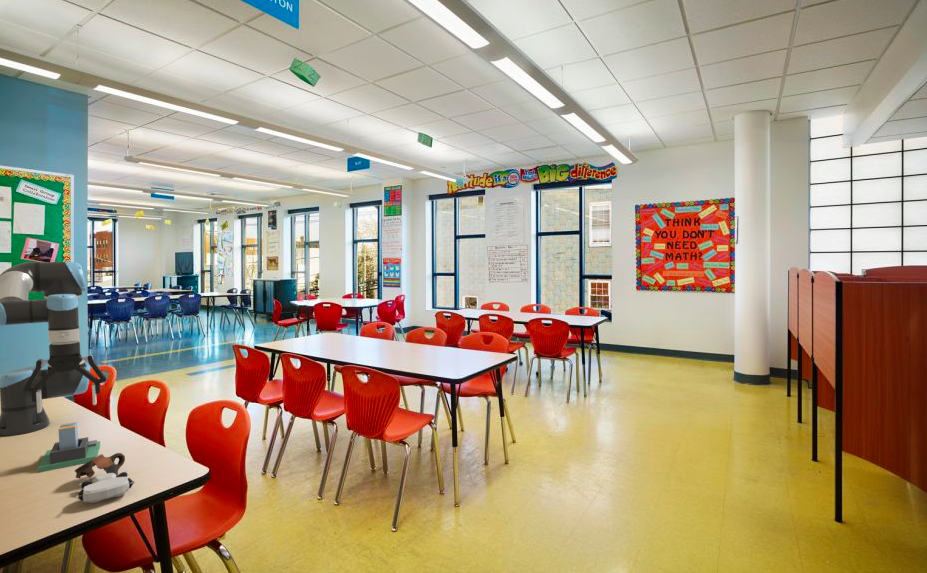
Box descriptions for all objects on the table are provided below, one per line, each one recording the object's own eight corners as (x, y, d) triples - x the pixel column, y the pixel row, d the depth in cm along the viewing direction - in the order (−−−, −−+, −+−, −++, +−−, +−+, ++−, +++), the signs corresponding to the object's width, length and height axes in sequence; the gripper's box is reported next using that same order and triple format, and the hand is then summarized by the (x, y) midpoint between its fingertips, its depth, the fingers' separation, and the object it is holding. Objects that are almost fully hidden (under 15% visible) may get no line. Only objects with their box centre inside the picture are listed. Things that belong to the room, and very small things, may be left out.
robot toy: (77, 494, 130) (77, 512, 118) (76, 478, 130) (76, 494, 118) (131, 481, 137) (136, 496, 126) (130, 465, 137) (135, 479, 126)
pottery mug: (95, 491, 130) (78, 467, 130) (82, 498, 135) (65, 475, 134) (137, 464, 141) (121, 441, 140) (123, 471, 145) (108, 450, 145)
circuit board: (47, 454, 155) (46, 440, 155) (100, 445, 163) (99, 431, 163) (38, 472, 142) (37, 456, 142) (96, 460, 150) (95, 445, 149)
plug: (62, 454, 152) (61, 423, 151) (78, 451, 154) (77, 421, 154) (60, 460, 147) (58, 429, 146) (76, 457, 149) (74, 426, 149)
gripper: (8, 348, 139) (12, 418, 140) (112, 340, 153) (115, 403, 154) (13, 344, 145) (17, 411, 146) (113, 337, 159) (116, 398, 160)
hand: (67, 407), depth 150 cm, fingers open, 13 cm apart
